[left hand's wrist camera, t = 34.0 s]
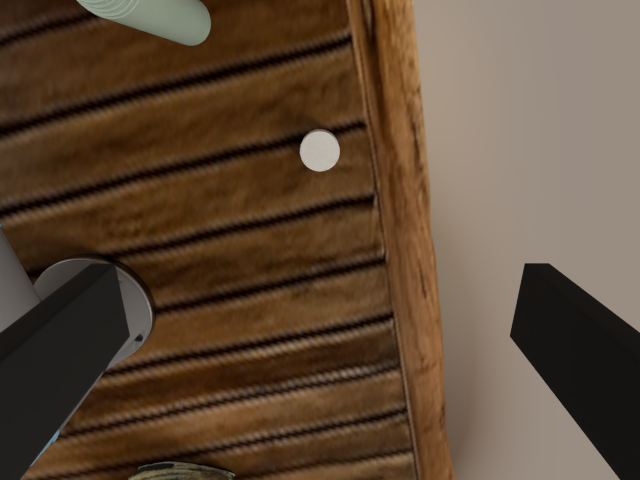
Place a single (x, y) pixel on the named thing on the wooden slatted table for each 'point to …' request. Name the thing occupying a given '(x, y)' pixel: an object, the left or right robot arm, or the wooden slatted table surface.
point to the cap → (319, 150)
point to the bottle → (158, 17)
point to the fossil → (179, 472)
